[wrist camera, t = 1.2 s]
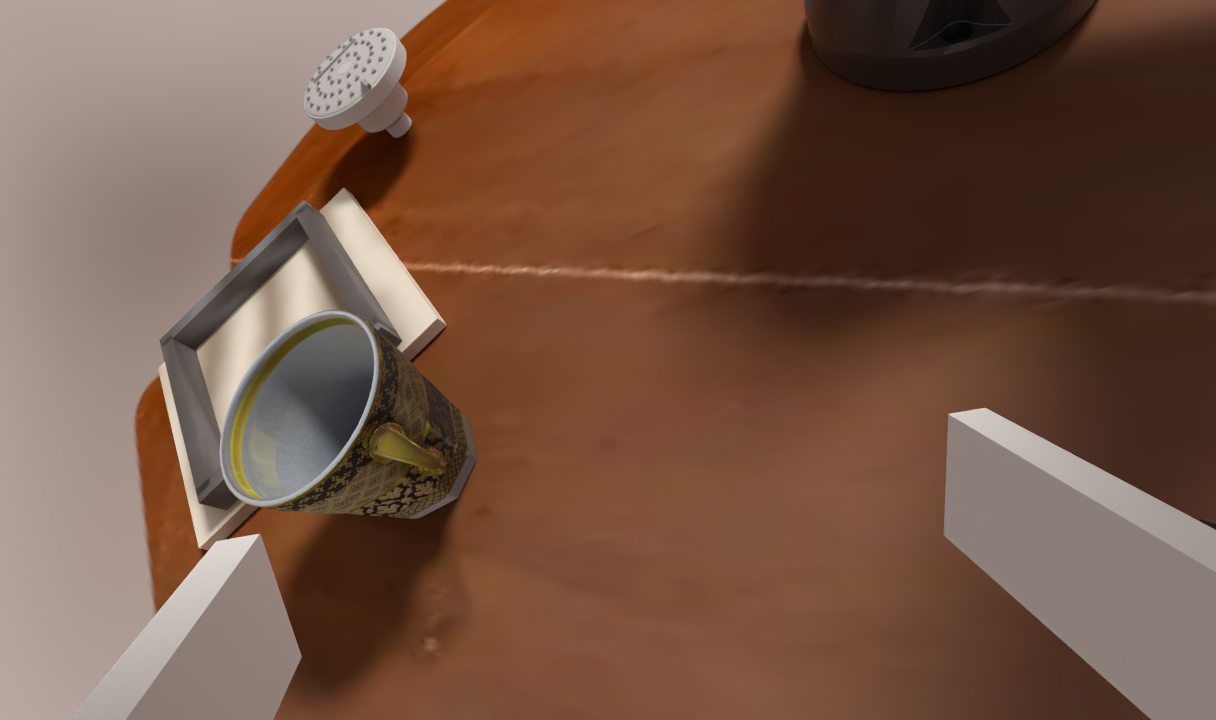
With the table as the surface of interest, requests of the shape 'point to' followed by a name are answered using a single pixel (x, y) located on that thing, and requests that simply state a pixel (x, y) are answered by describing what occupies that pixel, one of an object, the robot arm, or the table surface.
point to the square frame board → (277, 332)
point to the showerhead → (361, 85)
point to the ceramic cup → (342, 426)
